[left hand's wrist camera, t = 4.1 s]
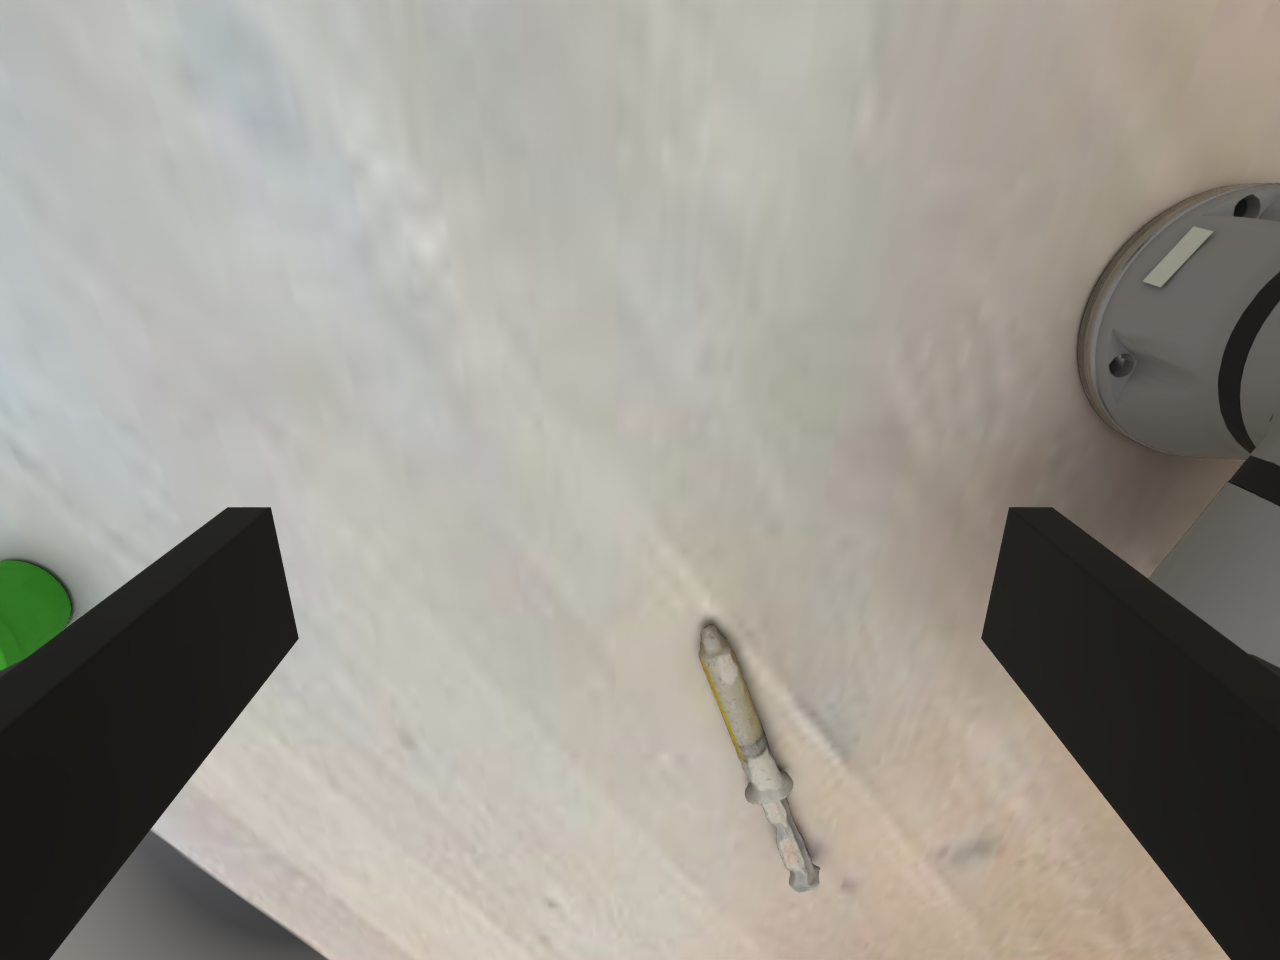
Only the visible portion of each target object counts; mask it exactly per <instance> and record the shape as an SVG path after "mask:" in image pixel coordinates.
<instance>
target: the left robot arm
mask: <svg viewBox="0 0 1280 960" xmlns="http://www.w3.org/2000/svg"><path fill="white" fill-rule="evenodd" d="M1078 365H1079V373H1080V377H1081V381H1082V385H1083V388H1084V391H1085V393H1086V396H1087V397H1088V399H1089V401H1090V403H1091V405H1092V406H1093V408H1094V409H1095V411H1096V412H1097V414H1098V415H1099V416H1100V417H1101V418H1102V419H1103V420H1104V421H1105V422H1106V423H1107V424H1108V425H1109V426H1110V427H1112V428H1113V429H1114V430H1116V431H1117V432H1119V433H1120V434H1122V435H1124V436H1126V437H1128V438H1130V439H1132V440H1134V441H1136V442H1138V443H1140V444H1142V445H1144V446H1146V447H1149V448H1151V449H1154V450H1157V451H1160V452H1164V453H1168V454H1173V455H1180V456H1188V457H1205V458H1225V459H1246V461H1245V462H1244V464H1243V465H1242V466H1241V467H1240V468H1239V470H1238V471H1237V472H1236V473H1235V475H1234V476H1233V477H1232V478H1231V479H1230V480H1229V481H1228V482H1227V483H1226V484H1225V485H1224V487H1223V488H1222V489H1221V490H1220V491H1219V493H1218V494H1217V495H1216V496H1215V498H1214V499H1213V500H1212V501H1211V503H1210V504H1209V505H1208V506H1207V507H1206V509H1205V510H1204V511H1203V512H1202V514H1201V515H1200V516H1199V517H1198V519H1197V520H1196V521H1195V522H1194V523H1193V525H1192V526H1191V527H1190V528H1189V530H1188V531H1187V532H1186V533H1185V534H1184V536H1183V537H1182V538H1181V539H1180V541H1179V542H1178V543H1177V544H1176V546H1175V547H1174V548H1173V549H1172V550H1171V552H1170V553H1169V554H1168V555H1167V557H1166V558H1165V559H1164V560H1163V561H1162V562H1161V564H1160V565H1159V566H1158V567H1157V568H1156V569H1155V571H1154V572H1153V573H1152V574H1151V575H1150V577H1149V578H1148V579H1147V578H1146V577H1145V576H1143V575H1142V574H1141V573H1139V572H1138V571H1137V570H1135V569H1134V568H1133V567H1131V566H1130V565H1129V564H1127V563H1126V562H1125V561H1123V560H1122V559H1121V558H1119V557H1118V556H1117V555H1115V554H1114V553H1113V552H1111V551H1110V550H1109V549H1107V548H1106V547H1105V546H1103V545H1102V544H1101V543H1099V542H1098V541H1097V540H1095V539H1094V538H1093V537H1091V536H1090V535H1089V534H1087V533H1086V532H1085V531H1083V530H1082V529H1081V528H1079V527H1078V526H1076V525H1075V524H1074V523H1072V522H1071V521H1070V520H1068V519H1067V518H1066V517H1064V516H1063V515H1062V514H1060V513H1059V512H1058V511H1056V510H1055V509H1054V508H1052V507H1009V511H1008V516H1007V520H1006V525H1005V530H1004V534H1003V539H1002V544H1001V548H1000V553H999V558H998V563H997V567H996V572H995V577H994V581H993V586H992V591H991V596H990V600H989V605H988V610H987V614H986V619H985V624H984V628H983V633H982V638H981V639H982V640H983V641H984V643H985V644H986V645H987V646H988V648H989V649H990V650H991V652H992V653H993V654H994V655H995V657H996V658H997V659H998V661H999V662H1000V663H1001V665H1002V666H1003V667H1004V668H1005V670H1006V671H1007V672H1008V674H1009V675H1010V676H1011V677H1012V679H1013V680H1014V681H1015V683H1016V684H1017V685H1018V686H1019V688H1020V689H1021V690H1022V692H1023V693H1024V694H1025V695H1026V697H1027V698H1028V699H1029V701H1030V702H1031V703H1032V704H1033V706H1034V707H1035V708H1036V710H1037V711H1038V712H1039V713H1040V715H1041V716H1042V717H1043V719H1044V720H1045V721H1046V722H1047V724H1048V725H1049V726H1050V728H1051V729H1052V730H1053V731H1054V733H1055V734H1056V735H1057V737H1058V738H1059V739H1060V740H1061V742H1062V743H1063V744H1064V746H1065V747H1066V748H1067V749H1068V751H1069V752H1070V753H1071V755H1072V756H1073V757H1074V758H1075V760H1076V761H1077V762H1078V764H1079V765H1080V766H1081V767H1082V769H1083V770H1084V771H1085V773H1086V774H1087V775H1088V776H1089V778H1090V779H1091V780H1092V782H1093V783H1094V784H1095V785H1096V787H1097V788H1098V789H1099V791H1100V792H1101V793H1102V794H1103V796H1104V797H1105V798H1106V800H1107V801H1108V802H1109V803H1110V805H1111V806H1112V807H1113V809H1114V810H1115V811H1116V812H1117V814H1118V815H1119V816H1120V818H1121V819H1122V820H1123V821H1124V823H1125V824H1126V825H1127V827H1128V828H1129V829H1130V830H1131V832H1132V833H1133V834H1134V836H1135V837H1136V838H1137V839H1138V841H1139V842H1140V843H1141V845H1142V846H1143V847H1144V848H1145V850H1146V851H1147V852H1148V854H1149V855H1150V856H1151V857H1152V859H1153V860H1154V861H1155V863H1156V864H1157V865H1158V866H1159V868H1160V869H1161V870H1162V872H1163V873H1164V874H1165V875H1166V877H1167V878H1168V879H1169V881H1170V882H1171V883H1172V885H1173V886H1174V887H1175V888H1176V890H1177V891H1178V892H1179V894H1180V895H1181V896H1182V897H1183V899H1184V900H1185V901H1186V903H1187V904H1188V905H1189V906H1190V908H1191V909H1192V910H1193V912H1194V913H1195V914H1196V915H1197V917H1198V918H1199V919H1200V921H1201V922H1202V923H1203V924H1204V926H1205V927H1206V928H1207V930H1208V931H1209V932H1210V933H1211V935H1212V936H1213V937H1214V939H1215V940H1216V941H1217V942H1218V944H1219V945H1220V946H1221V948H1222V949H1223V950H1224V951H1225V953H1226V954H1227V955H1228V957H1229V958H1230V959H1231V960H1280V183H1259V184H1239V185H1232V186H1225V187H1221V188H1217V189H1213V190H1210V191H1207V192H1204V193H1201V194H1198V195H1196V196H1194V197H1191V198H1189V199H1187V200H1184V201H1182V202H1181V203H1179V204H1177V205H1175V206H1173V207H1171V208H1170V209H1168V210H1167V211H1165V212H1163V213H1162V214H1160V215H1159V216H1157V217H1156V218H1155V219H1153V220H1152V221H1151V222H1149V223H1148V224H1147V225H1146V226H1144V227H1143V228H1142V229H1141V230H1140V231H1139V232H1138V233H1136V234H1135V235H1134V236H1133V237H1132V238H1131V239H1130V240H1129V241H1128V242H1127V243H1126V244H1125V245H1124V247H1123V248H1122V249H1121V250H1120V251H1119V252H1118V254H1117V255H1116V256H1115V257H1114V258H1113V260H1112V261H1111V263H1110V264H1109V265H1108V267H1107V268H1106V270H1105V271H1104V273H1103V274H1102V276H1101V278H1100V279H1099V281H1098V283H1097V285H1096V287H1095V289H1094V291H1093V293H1092V295H1091V297H1090V299H1089V302H1088V304H1087V307H1086V310H1085V313H1084V316H1083V320H1082V323H1081V329H1080V334H1079V342H1078ZM1242 488H1243V489H1242ZM1244 489H1245V490H1244ZM1246 490H1247V491H1246ZM1248 491H1249V492H1248ZM1250 492H1251V493H1250ZM1252 493H1254V494H1252ZM1255 494H1256V495H1255ZM1257 495H1258V496H1257ZM1259 496H1260V497H1259ZM1261 497H1262V498H1261ZM1263 498H1264V499H1263ZM1265 499H1266V500H1265ZM1267 500H1268V501H1267ZM1269 501H1270V502H1269ZM1271 502H1272V503H1271ZM1273 503H1274V504H1273ZM1275 504H1276V505H1275ZM298 639H299V638H298V633H297V628H296V624H295V619H294V614H293V610H292V605H291V600H290V596H289V591H288V586H287V581H286V577H285V572H284V567H283V563H282V558H281V553H280V548H279V544H278V539H277V534H276V530H275V525H274V520H273V516H272V511H271V507H228V508H226V509H225V510H224V511H222V512H221V513H220V514H218V515H217V516H216V517H214V518H213V519H212V520H210V521H209V522H208V523H206V524H205V525H204V526H202V527H201V528H199V529H198V530H197V531H195V532H194V533H193V534H191V535H190V536H189V537H187V538H186V539H185V540H183V541H182V542H181V543H179V544H178V545H177V546H175V547H174V548H173V549H171V550H170V551H169V552H167V553H166V554H165V555H163V556H162V557H161V558H159V559H158V560H157V561H155V562H154V563H153V564H151V565H150V566H149V567H147V568H146V569H145V570H143V571H142V572H141V573H139V574H138V575H137V576H135V577H134V578H133V579H131V580H130V581H129V582H127V583H126V584H125V585H123V586H122V587H121V588H119V589H118V590H117V591H115V592H114V593H112V594H111V595H110V596H108V597H107V598H106V599H104V600H103V601H102V602H100V603H99V604H98V605H96V606H95V607H94V608H92V609H91V610H90V611H88V612H87V613H86V614H84V615H83V616H82V617H80V618H79V619H78V620H76V621H75V622H74V623H72V624H71V625H70V626H68V627H67V628H66V629H64V630H63V631H62V632H60V633H59V634H58V635H56V636H55V637H54V638H52V639H51V640H50V641H48V642H47V643H46V644H44V645H43V646H42V647H40V648H39V649H38V650H36V651H35V652H34V653H32V654H31V655H29V656H28V657H27V658H25V659H23V660H21V661H19V662H17V663H15V664H13V665H11V666H9V667H7V668H5V669H3V670H1V671H0V960H49V959H50V958H51V957H52V955H53V954H54V953H55V951H56V950H57V949H58V948H59V946H60V945H61V944H62V942H63V941H64V940H65V939H66V937H67V936H68V935H69V933H70V932H71V931H72V930H73V928H74V927H75V926H76V924H77V923H78V922H79V921H80V919H81V918H82V917H83V915H84V914H85V913H86V912H87V910H88V909H89V908H90V906H91V905H92V904H93V903H94V901H95V900H96V899H97V897H98V896H99V895H100V894H101V892H102V891H103V890H104V888H105V887H106V886H107V884H108V883H109V882H110V881H111V879H112V878H113V877H114V875H115V874H116V873H117V872H118V870H119V869H120V868H121V866H122V865H123V864H124V863H125V861H126V860H127V859H128V857H129V856H130V855H131V854H132V852H133V851H134V850H135V848H136V847H137V846H138V845H139V843H140V842H141V841H142V839H143V838H144V837H145V836H146V834H147V833H148V832H149V830H150V829H151V828H152V827H153V825H154V824H155V823H156V821H157V820H158V819H159V818H160V816H161V815H162V814H163V812H164V811H165V810H166V809H167V807H168V806H169V805H170V803H171V802H172V801H173V800H174V798H175V797H176V796H177V794H178V793H179V792H180V791H181V789H182V788H183V787H184V785H185V784H186V783H187V782H188V780H189V779H190V778H191V776H192V775H193V774H194V773H195V771H196V770H197V769H198V767H199V766H200V765H201V764H202V762H203V761H204V760H205V758H206V757H207V756H208V755H209V753H210V752H211V751H212V749H213V748H214V747H215V746H216V744H217V743H218V742H219V740H220V739H221V738H222V737H223V735H224V734H225V733H226V731H227V730H228V729H229V728H230V726H231V725H232V724H233V722H234V721H235V720H236V719H237V717H238V716H239V715H240V713H241V712H242V711H243V710H244V708H245V707H246V706H247V704H248V703H249V702H250V701H251V699H252V698H253V697H254V695H255V694H256V693H257V692H258V690H259V689H260V688H261V686H262V685H263V684H264V683H265V681H266V680H267V679H268V677H269V676H270V675H271V674H272V672H273V671H274V670H275V668H276V667H277V666H278V665H279V663H280V662H281V661H282V659H283V658H284V657H285V655H286V654H287V653H288V652H289V650H290V649H291V648H292V646H293V645H294V644H295V643H296V641H297V640H298Z"/></svg>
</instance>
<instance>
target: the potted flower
mask: <svg viewBox="0 0 1280 960" xmlns="http://www.w3.org/2000/svg"><path fill="white" fill-rule="evenodd" d="M70 614H71V604H70V601H69V597H68V595H67V593H66V591H65V590H64V588H63V587H62V585H61V584H60V583H59V582H58V581H57V580H56V579H55V578H54V577H53V576H52V575H50V574H49V573H48V572H46V571H45V570H43V569H41V568H39V567H37V566H35V565H32V564H30V563H26V562H22V561H14V560H5V561H0V671H1V670H3V669H5V668H7V667H9V666H11V665H13V664H15V663H17V662H19V661H21V660H23V659H25V658H27V657H28V656H29V655H31V654H32V653H34V652H35V651H36V650H38V649H39V648H40V647H42V646H43V645H44V644H46V643H47V642H48V641H50V640H51V639H52V638H54V637H55V636H56V635H58V634H59V633H60V632H61V631H62V630H63V629H64V628H65V627H66V625H67V623H68V622H69V619H70Z"/></svg>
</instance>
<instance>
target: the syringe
mask: <svg viewBox="0 0 1280 960" xmlns="http://www.w3.org/2000/svg"><path fill="white" fill-rule="evenodd" d="M701 639H702V641H701V643H700V651H699V658H700V661H701V663H702V666H703V669H704V671H705V674H706V676H707V679H708V681H709V684H710V686H711V689H712V691H713V694H714V696H715V698H716V701H717V703H718V706H719V708H720V711H721V713H722V716H723V718H724V721H725V724H726V726H727V728H728V731H729V734H730V736H731V738H732V741H733V744H734V746H735V748H736V751H737V754H738V757H739V759H740V761H741V763H742V767H743V770H744V772H745V773H746V775H747V777H748V778H749V780H750V781H751V782H750V783H748V786H747V788H746V789H745V797H746V799H747V801H748V802H750V803H752V804H761V805H762V807H763V809H764V812H765V814H766V818H767V820H768V821H769V823H770V824H772V825H774V826H775V827H776V828H777V835H776V843H777V846H778V849H779V852H780V854H781V857H782V859H783V861H784V865H785V867H786V869H788V870H790V878H789V885H790V886H791V887H792V888H793V889H794V890H796V891H797V892H805V891H810V890H814V889H816V888H817V887H818V885H819V870H820V867H818V866H816V865H814V864H813V863H812V860H811V857H810V855H809V853H808V850H807V849H806V847H805V845H804V838H803V836H802V835H801V833H800V832H799V831H798V830H797V828H796V825H795V823H794V821H793V819H792V816H791V813H790V809H789V805H788V801H787V799H786V797H787V796H788V795H789V794H790V792H791V790H792V788H793V781H792V779H791V777H790V776H789V775H788V774H787V772H785V771H780V770H779V769H778V767H777V765H776V762H775V760H774V758H773V755H772V753H771V751H770V749H769V746H768V742H767V738H766V735H765V732H764V730H763V727H762V724H761V722H760V720H759V718H758V715H757V712H756V710H755V708H754V705H753V702H752V700H751V697H750V694H749V691H748V689H747V687H746V684H745V681H744V679H743V676H742V673H741V670H740V667H739V664H738V662H737V659H736V656H735V654H734V652H733V651H732V649H731V647H730V646H729V644H728V642H727V639H726V638H724V637H723V636H721V634H720V633H719V631H718V629H717V627H716V626H715V625H708V626H706V627H705V628H704V629H703V630H702V631H701Z"/></svg>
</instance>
